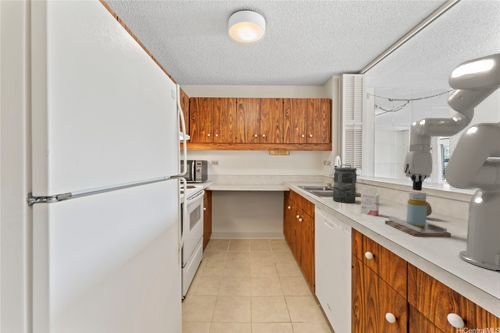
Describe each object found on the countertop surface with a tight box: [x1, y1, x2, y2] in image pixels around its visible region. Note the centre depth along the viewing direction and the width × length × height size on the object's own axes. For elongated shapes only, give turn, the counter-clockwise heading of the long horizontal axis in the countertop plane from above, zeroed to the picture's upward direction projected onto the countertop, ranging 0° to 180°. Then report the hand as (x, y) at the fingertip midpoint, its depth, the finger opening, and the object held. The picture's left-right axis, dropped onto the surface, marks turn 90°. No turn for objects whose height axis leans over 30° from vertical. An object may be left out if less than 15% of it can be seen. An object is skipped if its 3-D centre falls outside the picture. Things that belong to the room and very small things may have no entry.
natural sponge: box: [426, 201, 433, 218], centre depth 125 cm, size 9×9×10 cm
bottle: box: [406, 191, 427, 228], centre depth 101 cm, size 7×7×15 cm
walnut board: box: [384, 220, 452, 238], centre depth 101 cm, size 18×16×2 cm
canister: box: [332, 164, 358, 204], centre depth 170 cm, size 16×16×28 cm
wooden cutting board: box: [388, 216, 448, 233], centre depth 101 cm, size 18×12×2 cm
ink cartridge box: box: [359, 188, 380, 217], centre depth 130 cm, size 9×5×15 cm, turn 42°
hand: (417, 190), depth 101 cm, fingers closed
